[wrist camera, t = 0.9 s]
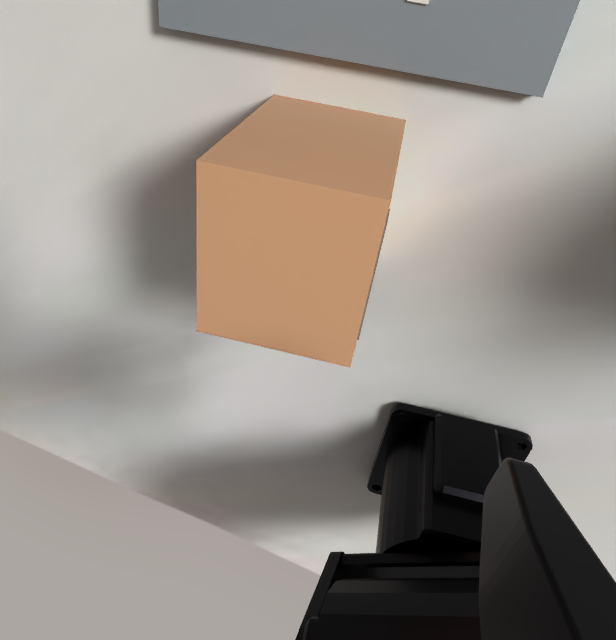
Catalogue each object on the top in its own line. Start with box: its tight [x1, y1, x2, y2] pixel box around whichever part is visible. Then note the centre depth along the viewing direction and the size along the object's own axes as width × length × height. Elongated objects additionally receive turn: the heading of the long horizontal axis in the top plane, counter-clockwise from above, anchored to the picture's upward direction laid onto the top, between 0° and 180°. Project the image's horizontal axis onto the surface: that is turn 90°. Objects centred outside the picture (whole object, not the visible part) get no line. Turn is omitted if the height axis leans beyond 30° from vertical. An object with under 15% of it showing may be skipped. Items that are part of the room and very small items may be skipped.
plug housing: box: [196, 95, 406, 367], centre depth 16 cm, size 5×5×7 cm
